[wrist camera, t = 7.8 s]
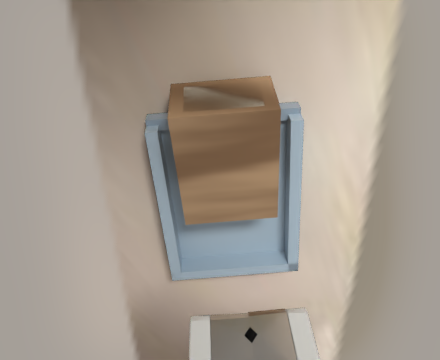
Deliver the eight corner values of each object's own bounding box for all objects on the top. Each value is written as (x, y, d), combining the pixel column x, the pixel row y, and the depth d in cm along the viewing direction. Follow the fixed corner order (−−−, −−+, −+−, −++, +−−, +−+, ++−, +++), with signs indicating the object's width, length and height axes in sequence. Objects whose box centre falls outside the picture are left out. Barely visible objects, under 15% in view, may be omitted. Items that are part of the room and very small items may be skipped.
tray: (147, 114, 27) (143, 127, 26) (297, 101, 27) (304, 113, 25) (173, 263, 34) (172, 280, 33) (293, 253, 34) (297, 270, 33)
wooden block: (167, 118, 22) (185, 224, 27) (281, 109, 22) (277, 217, 27) (170, 84, 25) (186, 185, 30) (270, 76, 25) (269, 178, 30)
